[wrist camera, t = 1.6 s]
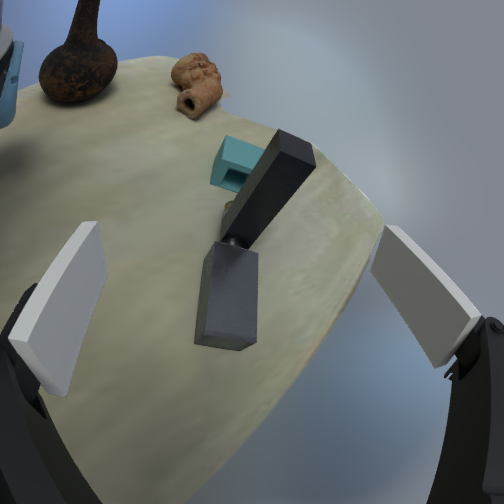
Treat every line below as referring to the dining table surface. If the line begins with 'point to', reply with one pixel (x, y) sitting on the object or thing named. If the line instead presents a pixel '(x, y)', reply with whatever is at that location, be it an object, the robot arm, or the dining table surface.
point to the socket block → (234, 163)
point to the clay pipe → (196, 84)
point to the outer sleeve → (228, 299)
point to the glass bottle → (79, 60)
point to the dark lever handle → (267, 189)
